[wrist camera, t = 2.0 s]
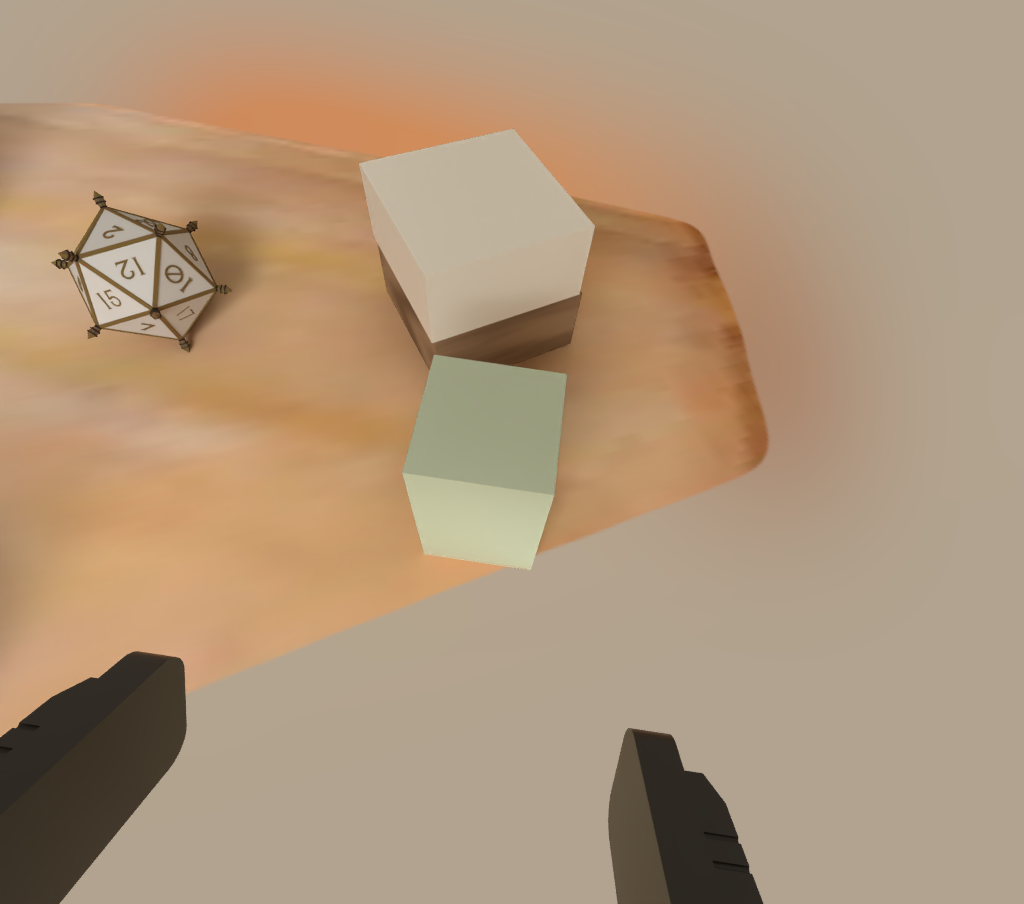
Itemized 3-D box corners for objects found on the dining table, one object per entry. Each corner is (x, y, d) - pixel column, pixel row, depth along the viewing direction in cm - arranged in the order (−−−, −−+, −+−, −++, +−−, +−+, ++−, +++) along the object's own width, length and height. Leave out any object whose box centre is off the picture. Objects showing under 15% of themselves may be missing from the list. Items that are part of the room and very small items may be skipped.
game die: (183, 344, 40) (101, 204, 35) (277, 318, 38) (203, 165, 33) (85, 391, 32) (-37, 220, 27) (196, 363, 30) (84, 171, 25)
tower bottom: (387, 293, 39) (376, 236, 34) (506, 257, 42) (510, 199, 37) (440, 393, 35) (435, 342, 30) (569, 345, 37) (581, 293, 33)
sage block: (530, 570, 29) (554, 495, 20) (424, 554, 29) (402, 472, 20) (542, 474, 32) (567, 374, 23) (445, 460, 32) (433, 354, 23)
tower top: (373, 236, 34) (359, 163, 30) (509, 200, 37) (513, 128, 33) (431, 343, 30) (424, 276, 26) (579, 294, 33) (595, 226, 29)
